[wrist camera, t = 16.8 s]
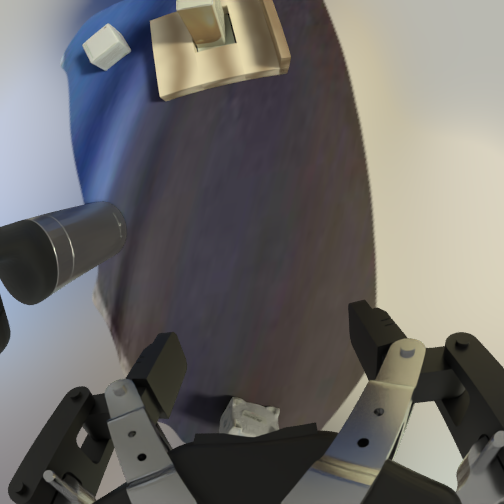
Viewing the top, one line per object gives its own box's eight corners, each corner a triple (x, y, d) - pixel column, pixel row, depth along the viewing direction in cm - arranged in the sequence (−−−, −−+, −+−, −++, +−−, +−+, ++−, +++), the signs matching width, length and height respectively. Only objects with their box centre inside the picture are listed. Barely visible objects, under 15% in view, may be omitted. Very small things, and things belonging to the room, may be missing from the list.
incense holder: (282, 404, 48) (285, 444, 38) (263, 426, 50) (262, 464, 40) (236, 389, 47) (231, 430, 37) (220, 413, 49) (213, 451, 39)
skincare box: (197, 19, 30) (177, -23, 19) (225, 16, 30) (213, -29, 18) (197, 50, 32) (174, 10, 20) (226, 46, 32) (213, 3, 20)
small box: (95, 53, 32) (81, 44, 27) (121, 33, 31) (108, 21, 26) (105, 72, 33) (90, 64, 28) (132, 51, 32) (119, 40, 27)
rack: (165, 101, 35) (150, 90, 29) (155, 27, 31) (141, 11, 25) (287, 73, 33) (291, 57, 27) (264, 1, 29) (264, -20, 24)
